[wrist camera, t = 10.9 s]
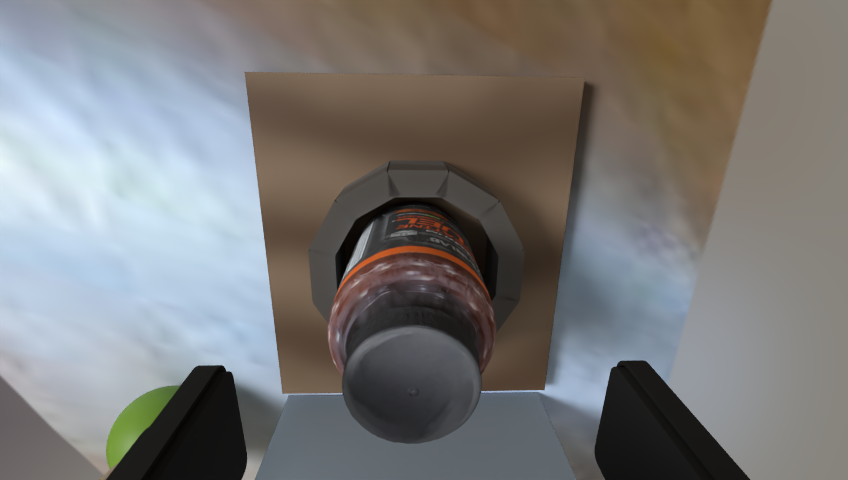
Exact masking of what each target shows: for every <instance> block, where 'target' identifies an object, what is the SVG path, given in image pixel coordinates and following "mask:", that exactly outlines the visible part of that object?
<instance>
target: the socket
mask: <svg viewBox="0 0 848 480" xmlns="http://www.w3.org/2000/svg"><path fill="white" fill-rule="evenodd" d="M245 78H246V86H247V95H248V103H249V112H250V120H251V129H252V137H253V146H254V154H255V163H256V171H257V180H258V188H259V197H260V205H261V214H262V222H263V231H264V239H265V248H266V256H267V265H268V273H269V282H270V290H271V299H272V307H273V316H274V324H275V333H276V341H277V350H278V358H279V367H280V376H281V384H282V393H283V394H284V393H342V377H343V376H342V375H341V374H340V372H339V371H338V369H337V367H336V365H335V364H334V362H333V359H332V356H331V352H330V348H329V343H328V334H327V333H328V321H329V315H330V311H331V307H332V304H333V301H334V299H335V296H336V294H337V291H338V288H339V286H340V283H341V281H342V279H343V276H344V274H345V271H346V269H347V266H348V263H349V261H350V259H351V256H352V253H353V251H354V249H355V246H356V244H357V241H358V238H359V236H360V234H361V232H362V230H363V229H364V227H365V225H366V224H367V223H368V221H369V220H370V219H371V218H372V217H373V216H374V215H375V214H377V213H378V212H379V211H380V210H382V209H384V208H386V207H387V206H389V205H393V204H396V203H399V202H406V201H420V202H426V203H430V204H433V205H435V206H437V207H440V208H441V209H443V210H444V211H446V212H447V213H448V214H450V215H451V216H452V217H453V218H454V219H455V220H456V221H457V223H458V224H459V225H460V227H461V228H462V230H463V232H464V233H465V235H466V238H467V240H468V243H469V245H470V247H471V250H472V253H473V256H474V258H475V261H476V264H477V266H478V268H479V271H480V273H481V276H482V278H483V281H484V284H485V286H486V288H487V291H488V294H489V297H490V299H491V302H492V305H493V308H494V313H495V320H496V329H497V330H496V341H495V348H494V351H493V354H492V357H491V360H490V362H489V363H488V365H487V367H486V369H485V371H484V372H483V374H482V375H481V376H482V390H481V391H507V390H544V389H545V381H546V374H547V366H548V358H549V350H550V343H551V335H552V327H553V319H554V312H555V304H556V296H557V289H558V281H559V273H560V265H561V258H562V250H563V242H564V234H565V227H566V219H567V211H568V204H569V196H570V188H571V180H572V173H573V165H574V157H575V149H576V142H577V134H578V126H579V119H580V111H581V103H582V95H583V88H584V80H585V78H575V77H515V76H454V75H394V74H333V73H273V72H245Z"/></svg>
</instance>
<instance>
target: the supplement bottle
mask: <svg viewBox="0 0 848 480" xmlns="http://www.w3.org/2000/svg"><path fill="white" fill-rule="evenodd" d="M496 330H497V329H496V320H495V313H494V308H493V305H492V302H491V299H490V297H489V294H488V291H487V288H486V286H485V284H484V281H483V278H482V276H481V273H480V271H479V268H478V266H477V264H476V261H475V258H474V256H473V253H472V250H471V247H470V245H469V243H468V240H467V238H466V235H465V233H464V232H463V230H462V228H461V227H460V225H459V224H458V223H457V221H456V220H455V219H454V218H453V217H452V216H451V215H450V214H448V213H447V212H446V211H444V210H443V209H441V208H440V207H437V206H435V205H433V204H430V203H426V202H420V201H406V202H399V203H396V204H393V205H389V206H387V207H386V208H384V209H382V210H380V211H379V212H378V213H377V214H375V215H374V216H373V217H372V218H371V219H370V220H369V221H368V223H367V224H366V225H365V227H364V229H363V230H362V232H361V234H360V236H359V238H358V241H357V244H356V246H355V249H354V251H353V253H352V256H351V259H350V261H349V263H348V266H347V269H346V271H345V274H344V276H343V279H342V281H341V283H340V286H339V288H338V291H337V294H336V296H335V299H334V301H333V304H332V307H331V311H330V315H329V321H328V333H327V334H328V343H329V348H330V352H331V356H332V359H333V362H334V364H335V365H336V367H337V369H338V371H339V372H340V374H341V375H342V376H343V377H342V393H343V397H344V401H345V404H346V406H347V408H348V409H349V411H350V414H351V415H352V417H353V418H354V419H355V420H356V421H357V422H358V423H359V424H360V425H361V426H362V427H363V428H365V429H366V430H367V431H369V432H370V433H371V434H374V435H376V436H377V437H379V438H382V439H385V440H387V441H391V442H394V443H405V444H419V443H424V442H430V441H433V440H437V439H440V438H442V437H444V436H446V435H448V434H450V433H452V432H453V431H455V430H457V429H458V428H459V427H461V426H462V425H463V424H464V423H465V422H466V421H467V420H468V418H469V417H470V416H471V415H472V413H473V412H474V410H475V408H476V406H477V404H478V402H479V398H480V394H481V390H482V376H481V375H482V374H483V372H484V371H485V369H486V367H487V365H488V363H489V362H490V360H491V357H492V354H493V351H494V348H495V341H496Z"/></svg>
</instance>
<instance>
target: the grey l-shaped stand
mask: <svg viewBox="0 0 848 480" xmlns="http://www.w3.org/2000/svg"><path fill="white" fill-rule="evenodd" d="M255 480H577V479H576V477H575V475H574V473H573V470H572V468H571V466H570V464H569V461H568V459H567V457H566V455H565V452H564V450H563V448H562V446H561V443H560V441H559V439H558V437H557V434H556V432H555V430H554V428H553V425H552V423H551V421H550V419H549V416H548V414H547V412H546V410H545V407H544V405H543V403H542V401H541V398H540V396H539V394H538V392H537V393H481V394H480V398H479V402H478V404H477V406H476V408H475V410H474V412H473V413H472V415H471V416H470V417H469V418H468V420H467V421H466V422H465V423H464V424H463V425H462V426H461V427H459V428H458V429H457V430H455V431H453V432H452V433H450V434H448V435H446V436H444V437H442V438H440V439H437V440H433V441H430V442H424V443H419V444H405V443H394V442H391V441H387V440H385V439H382V438H379V437H377V436H376V435H374V434H371V433H370V432H369V431H367V430H366V429H365V428H363V427H362V426H361V425H360V424H359V423H358V422H357V421H356V420H355V419H354V418H353V417H352V415H351V414H350V411H349V409H348V408H347V406H346V404H345V401H344V397H343V395H319V396H288V399H287V401H286V404H285V406H284V409H283V411H282V414H281V416H280V419H279V421H278V424H277V426H276V429H275V431H274V433H273V436H272V438H271V441H270V443H269V446H268V448H267V451H266V453H265V456H264V458H263V461H262V463H261V466H260V468H259V471H258V473H257V475H256V478H255Z"/></svg>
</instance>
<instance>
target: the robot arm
mask: <svg viewBox="0 0 848 480" xmlns="http://www.w3.org/2000/svg"><path fill="white" fill-rule="evenodd" d="M595 458H596V461H597V464H598V466H599V468H600V470H601V472H602V474H603V476H604V478H605V480H750V479H749V478H748V477H747V475H746V474H745V473H744V472H743V471H742V470H741V469H740V468H739V466H738V465H737V464H736V463H735V462H734V461H733V459H732V458H731V457H730V456H729V455H728V454H727V453H726V451H725V450H724V449H723V448H722V447H721V446H720V445H719V443H718V442H717V441H716V440H715V439H714V438H713V437H712V435H711V434H710V433H709V432H708V431H707V430H706V429H705V427H704V426H703V425H702V424H701V423H700V422H699V421H698V420H697V418H696V417H695V416H694V415H693V414H692V413H691V412H690V410H689V409H688V408H687V407H686V406H685V405H684V404H683V403H682V401H681V400H680V399H679V398H678V397H677V396H676V394H675V393H674V392H673V391H672V390H671V389H670V388H669V386H668V385H667V384H666V383H665V382H664V381H663V380H662V378H661V377H660V376H659V375H658V374H657V373H656V372H655V370H654V369H653V368H652V367H651V366H650V365H649V364H648V363H647V362H646V361H620V362H619V363H618V364H617V367H613V368H612V369H611V372H610V377H609V381H608V386H607V391H606V396H605V401H604V405H603V410H602V415H601V420H600V425H599V430H598V434H597V439H596V444H595ZM246 465H247V452H246V446H245V440H244V435H243V429H242V423H241V418H240V412H239V407H238V401H237V395H236V390H235V384H234V379H233V374H232V373H231V372H226V369H225V368H224V366H221V365H215V366H197V367H195V368H194V369H193V370H192V372H191V373H190V374H189V376H188V377H187V378H186V380H185V381H184V382H183V383H182V385H181V386H180V387H179V389H178V390H177V391H176V393H175V394H174V395H173V397H172V398H171V399H170V400H169V402H168V403H167V404H166V406H165V407H164V408H163V410H162V411H161V412H160V414H159V415H158V416H157V417H156V419H155V420H154V421H153V423H152V424H151V425H150V427H148V428H146V429H145V430H144V431H143V432H142V434H141V435H140V436H139V437H138V439H137V440H136V441H135V442H134V444H133V445H132V446H131V448H130V449H129V450H128V452H127V453H126V454H125V455H124V457H123V458H122V459H121V461H120V462H119V463H118V464H117V466H116V467H115V468H114V470H113V471H112V472H111V474H110V475H109V476H108V477H107V479H106V480H241V479H242V477H243V475H244V472H245V469H246Z"/></svg>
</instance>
